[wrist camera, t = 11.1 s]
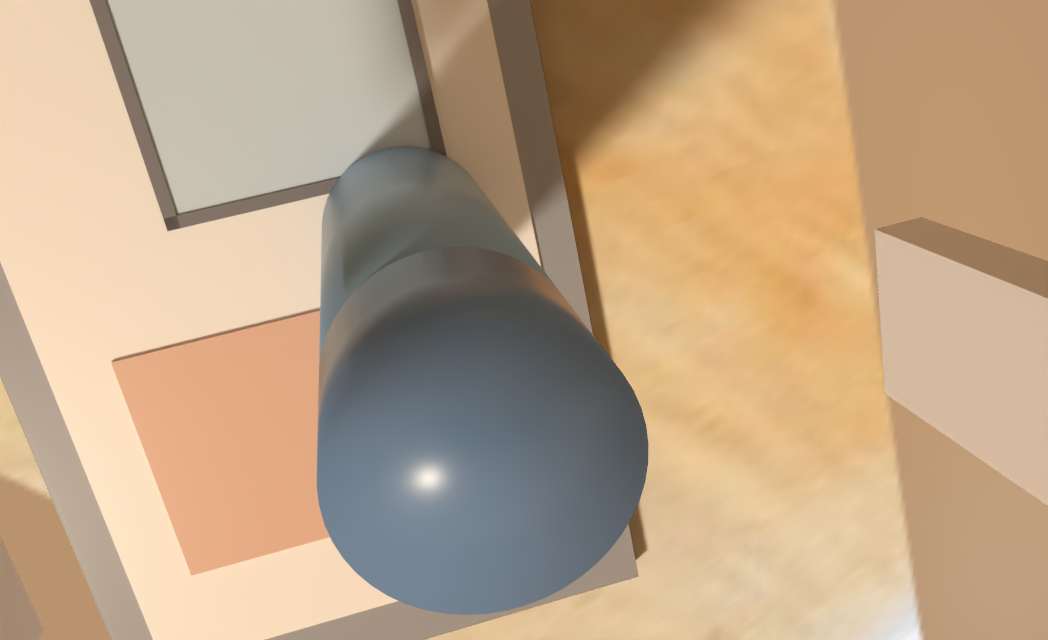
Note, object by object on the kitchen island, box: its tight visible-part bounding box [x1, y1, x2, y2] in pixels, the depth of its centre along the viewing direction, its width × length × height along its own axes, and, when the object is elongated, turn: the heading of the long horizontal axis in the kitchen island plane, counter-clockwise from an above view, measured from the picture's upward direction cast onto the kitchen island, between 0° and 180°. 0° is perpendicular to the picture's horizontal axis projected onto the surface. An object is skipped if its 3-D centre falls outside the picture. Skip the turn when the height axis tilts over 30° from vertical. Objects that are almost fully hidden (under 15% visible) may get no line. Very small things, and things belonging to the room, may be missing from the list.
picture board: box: [0, 0, 638, 640], centre depth 22 cm, size 24×14×1 cm, turn 12°
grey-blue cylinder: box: [317, 146, 648, 615], centre depth 16 cm, size 4×4×12 cm
